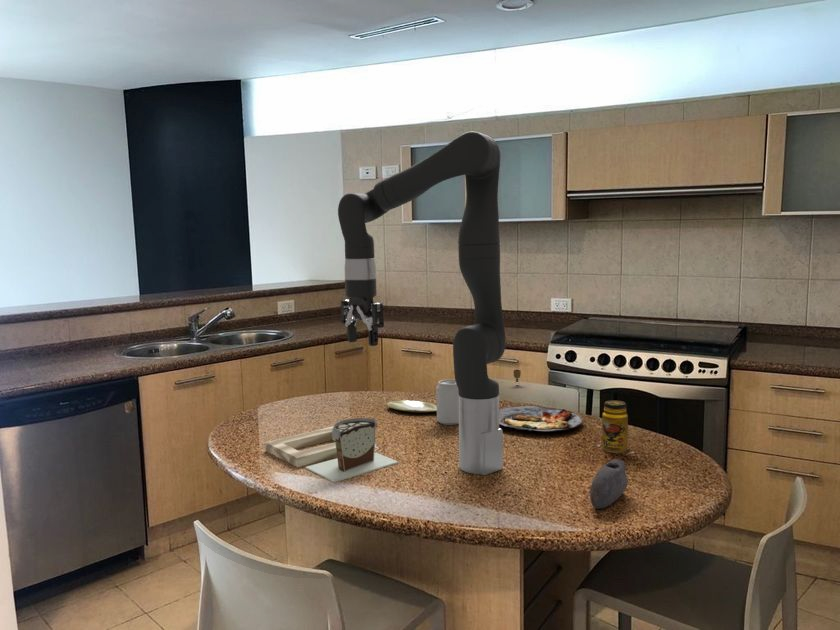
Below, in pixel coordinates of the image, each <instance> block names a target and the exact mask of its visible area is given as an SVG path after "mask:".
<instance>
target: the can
mask: <svg viewBox="0 0 840 630" xmlns="http://www.w3.org/2000/svg"><path fill="white" fill-rule="evenodd" d="M435 388H436V390H435V391H436V392H435V393H436V405H437V411H436V420H437V422H439V424H441V425H445V426H455V425H459V394H458V387H457V384H456V381H455V379H441V380H439V381H438V384H437V386H436V387H435Z"/></svg>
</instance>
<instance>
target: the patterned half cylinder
mask: <svg viewBox="0 0 840 630" xmlns="http://www.w3.org/2000/svg"><path fill="white" fill-rule="evenodd" d="M376 428H378V422H377V420H376V418H371V417H353V418H352V417H351V418H346V419H342V420H340V421H337V422H335V423H334V424H333V429H332V437H333V438H335V441H334V442H335V443H336V451H337V457H336V458H337V459H338V466H339V469H340V470H341V471H343V472H346V471H349V470H351V469H354V468H357V467H359V466H362V465H365V464H368V463H370V462H373V461H374V452H375V450H376V449H375V447H376Z"/></svg>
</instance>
